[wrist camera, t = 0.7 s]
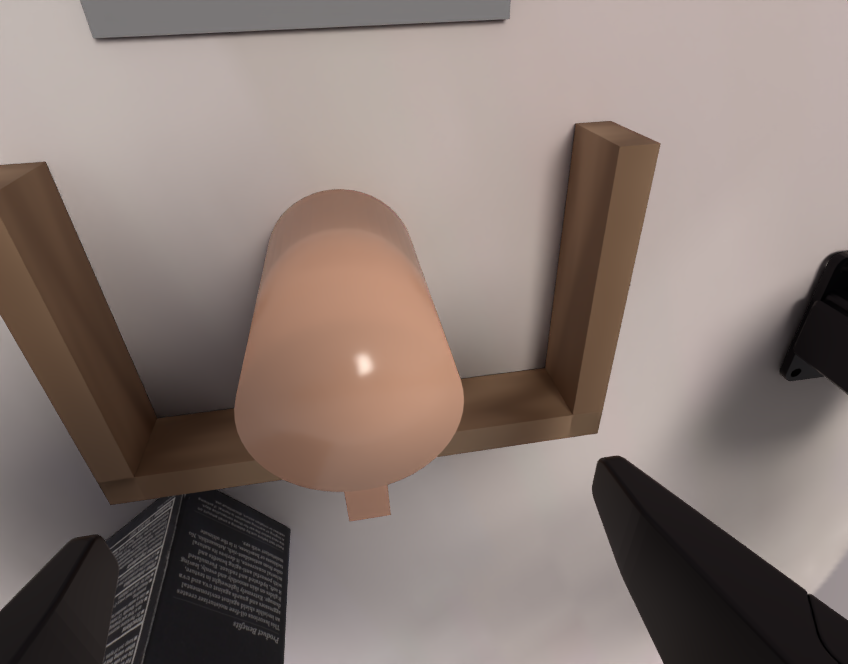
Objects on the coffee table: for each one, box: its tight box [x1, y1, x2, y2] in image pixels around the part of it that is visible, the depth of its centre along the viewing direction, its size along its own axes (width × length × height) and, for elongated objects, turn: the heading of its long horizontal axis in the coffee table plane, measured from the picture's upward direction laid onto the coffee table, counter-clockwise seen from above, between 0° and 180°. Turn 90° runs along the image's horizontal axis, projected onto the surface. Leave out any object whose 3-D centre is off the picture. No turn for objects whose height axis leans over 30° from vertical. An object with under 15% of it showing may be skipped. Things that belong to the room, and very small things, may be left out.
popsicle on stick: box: [234, 189, 464, 521], centre depth 15 cm, size 5×7×8 cm
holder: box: [0, 121, 661, 505], centre depth 18 cm, size 18×11×3 cm, turn 92°
